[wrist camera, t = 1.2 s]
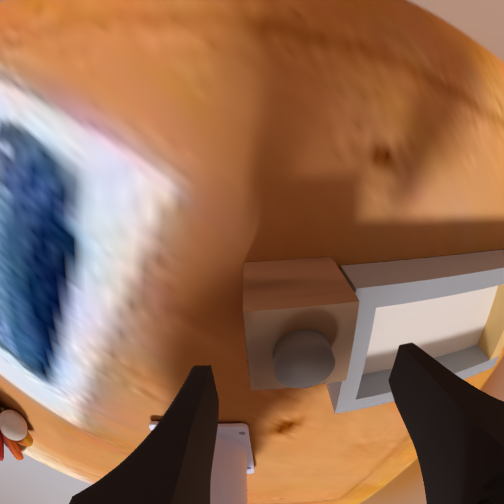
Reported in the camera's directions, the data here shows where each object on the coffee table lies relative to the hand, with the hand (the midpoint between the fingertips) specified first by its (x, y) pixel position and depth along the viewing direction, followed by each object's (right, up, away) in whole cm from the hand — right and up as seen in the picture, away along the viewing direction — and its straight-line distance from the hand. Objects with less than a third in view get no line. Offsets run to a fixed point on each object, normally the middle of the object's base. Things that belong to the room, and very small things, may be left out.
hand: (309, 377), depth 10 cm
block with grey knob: (0, +2, +6) cm, 6 cm away
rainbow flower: (-33, -15, +12) cm, 38 cm away
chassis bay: (+10, 0, +7) cm, 12 cm away
